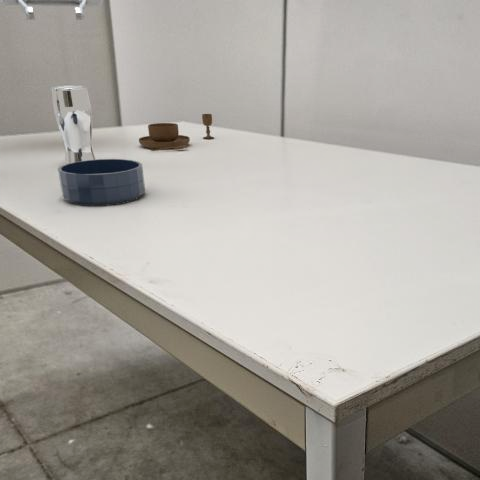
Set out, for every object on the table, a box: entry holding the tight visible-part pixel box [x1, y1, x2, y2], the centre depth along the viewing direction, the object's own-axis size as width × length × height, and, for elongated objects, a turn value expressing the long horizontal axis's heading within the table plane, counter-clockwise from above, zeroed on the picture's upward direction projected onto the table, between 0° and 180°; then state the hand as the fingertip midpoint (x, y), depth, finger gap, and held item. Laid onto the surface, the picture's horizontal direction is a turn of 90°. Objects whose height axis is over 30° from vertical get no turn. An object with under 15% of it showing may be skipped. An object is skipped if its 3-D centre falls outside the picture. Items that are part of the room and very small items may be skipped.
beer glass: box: [51, 85, 97, 164], centre depth 124 cm, size 7×7×15 cm
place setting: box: [138, 113, 215, 152], centre depth 149 cm, size 18×20×6 cm
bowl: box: [57, 158, 146, 206], centre depth 102 cm, size 13×13×5 cm
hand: (55, 17), depth 125 cm, fingers open, 8 cm apart
